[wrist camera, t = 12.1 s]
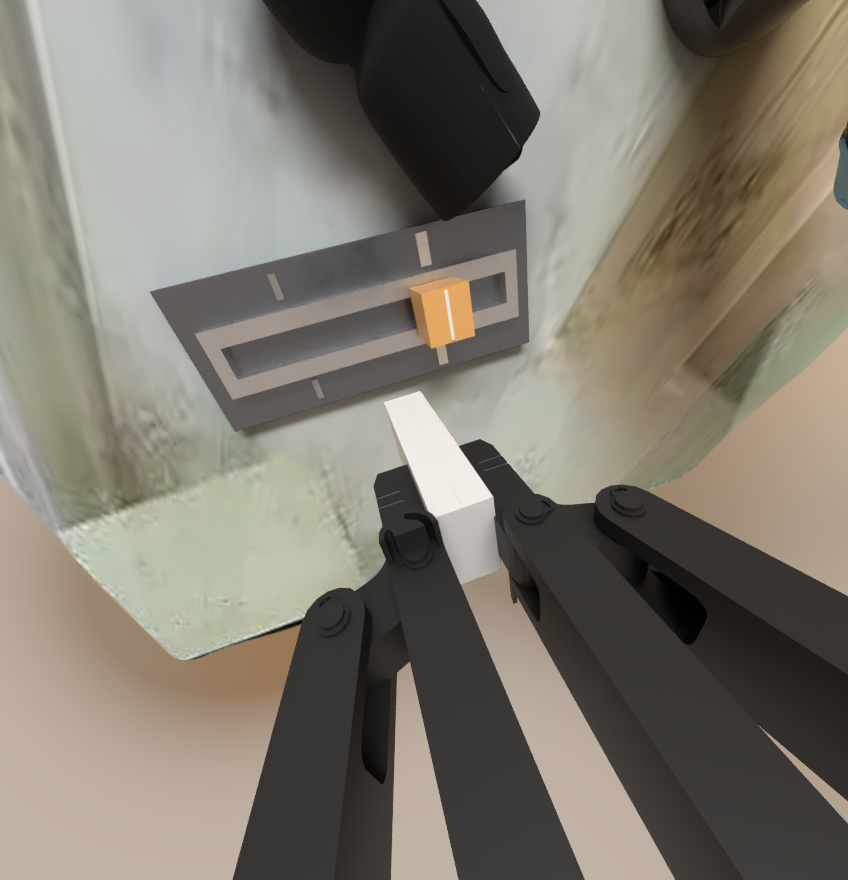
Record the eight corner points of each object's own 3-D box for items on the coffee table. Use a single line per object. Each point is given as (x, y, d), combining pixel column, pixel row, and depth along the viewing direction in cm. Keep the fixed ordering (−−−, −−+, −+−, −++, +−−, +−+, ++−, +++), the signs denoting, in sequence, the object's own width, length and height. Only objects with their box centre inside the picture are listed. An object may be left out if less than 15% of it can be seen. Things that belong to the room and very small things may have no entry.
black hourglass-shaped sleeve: (568, 92, 23) (309, -449, 13) (516, 188, 21) (161, -357, 11) (475, 172, 31) (269, -120, 20) (432, 247, 29) (180, -34, 18)
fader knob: (415, 334, 33) (431, 348, 28) (405, 286, 30) (421, 293, 26) (453, 323, 33) (475, 336, 29) (446, 275, 31) (469, 280, 26)
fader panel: (238, 424, 34) (232, 437, 32) (157, 289, 27) (142, 294, 25) (522, 338, 38) (535, 345, 36) (516, 201, 31) (532, 197, 29)
